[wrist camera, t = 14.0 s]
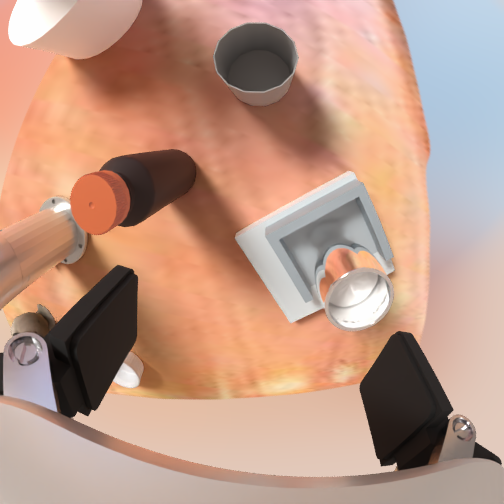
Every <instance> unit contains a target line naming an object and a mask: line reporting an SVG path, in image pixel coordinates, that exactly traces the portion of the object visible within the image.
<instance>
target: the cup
mask: <svg viewBox="0 0 504 504" xmlns="http://www.w3.org/2000/svg"><path fill="white" fill-rule="evenodd" d="M298 58H299V57H298V53H297V49H296V46H295V42H294V41H293V40H292V39H291V38H290V37H289V36H288V35H287V33H286V32H285V31H284V30H282V29H280V28H278V27H275V26H273V25H270V24H268V23H245V24H242V25H239V26H237V27H234V28H232V29H230V30H229V31H228V32H227V33H226V34H225V35H224V36H223V37H222V38H221V39H220V40H219V41H218V43H217V46H216V49H215V52H214V55H213V59H214V64H215V69H216V72H217V74H218V75H219V76H220V77H221V79H222V80H223V81H224V82H225V84H226V85H227V86H228V88H229V89H230V90H231V91H232V92H233V94H234V95H235V96H236V97H237V98H238V100H240V101H242V102H245V103H247V104H249V105H251V106H267V105H270V104H272V103H275V102H277V101H279V100H280V99H281V98H282V97H283V96H284V95H285V94H286V93H287V92H288V90H289V87H290V84H291V81H292V78H293V75H294V72H295V69H296V65H297V62H298Z"/></svg>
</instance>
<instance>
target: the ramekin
mask: <svg viewBox="0 0 504 504" xmlns="http://www.w3.org/2000/svg"><path fill="white" fill-rule="evenodd" d="M143 370H144V366H143V363H142V361H141V360H140V358H139V357H138V356H137V355H135V354H134V353H133V352H131V351H130V352H129V354H128V355H127V357H126V359H125V360H124V362H123V364H122V366H121V367H120V369H119V371H118V373H117V374H116V376H115V378H114V380H113V381H114V382H115V383H117V384H119V385H121V386H123V387H127V388H135V387H137V386H138V385H139V384H140V379H141V376H142V373H143Z"/></svg>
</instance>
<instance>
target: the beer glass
mask: <svg viewBox="0 0 504 504" xmlns="http://www.w3.org/2000/svg"><path fill="white" fill-rule="evenodd" d="M308 250H309V252H310V254H311V256H312V257H313V258H314V260H315V266H314V277H315V284H316V289H317V292H318V295H319V298H320V301H321V303H322V305H323V308H324V310H325V313H326V316H327V318H328V319H329V321H330V322H331V323H332V324H333V325H334V326H336V327H337V328H339V329H342V330H346V331H359V330H364V329H367V328H369V327H371V326H373V325H375V324H376V323H378V322H379V321H380V320H381V319H382V318H383V317H384V316H385V315H386V314H387V312H388V311H389V309H390V307H391V305H392V302H393V298H394V289H393V285H392V282H391V280H390V279H389V277H388V276H387V274H386V272H385V271H384V269H383V267H382V266H381V264H380V263H379V261H378V260H377V259H376V257H375V256H374V255H373V254H372V253H371V252H370V251H369V250H368V249H367V248H365V247H364V246H363V245H361V244H360V243H358V242H356V241H355V240H353V239H352V238H351V235H350V232H349V231H348V229H347V228H346V227H345V226H344V225H342V224H341V223H339V222H335V221H327V222H323V223H321V224H319V225H317V226H316V227H315V228H314V229H313V230H312V232H311V233H310V235H309V238H308Z"/></svg>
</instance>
